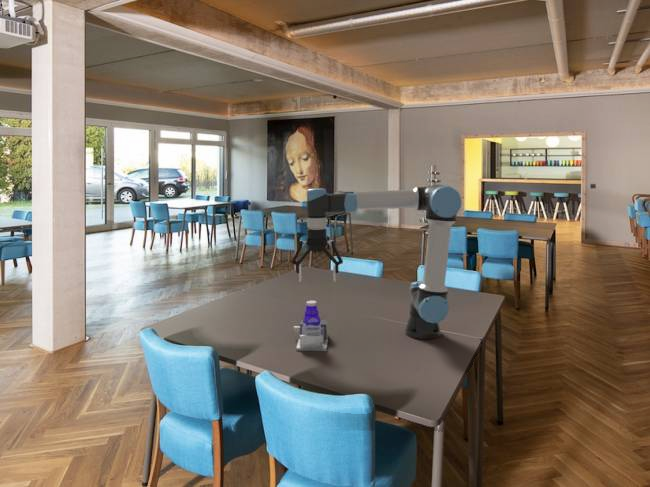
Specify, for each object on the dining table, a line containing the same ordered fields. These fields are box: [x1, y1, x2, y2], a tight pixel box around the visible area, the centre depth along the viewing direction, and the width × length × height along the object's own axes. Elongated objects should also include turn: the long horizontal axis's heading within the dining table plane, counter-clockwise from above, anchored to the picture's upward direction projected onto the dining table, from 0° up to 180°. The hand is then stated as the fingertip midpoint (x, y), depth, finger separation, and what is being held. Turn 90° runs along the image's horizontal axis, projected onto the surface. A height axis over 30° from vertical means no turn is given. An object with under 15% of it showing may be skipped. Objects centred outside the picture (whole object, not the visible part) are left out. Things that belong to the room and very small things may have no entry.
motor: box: [293, 319, 329, 340], centre depth 205 cm, size 14×6×7 cm, turn 88°
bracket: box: [295, 327, 329, 352], centre depth 196 cm, size 12×11×6 cm
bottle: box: [302, 300, 322, 335], centre depth 195 cm, size 7×6×17 cm
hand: (317, 281), depth 193 cm, fingers open, 13 cm apart
